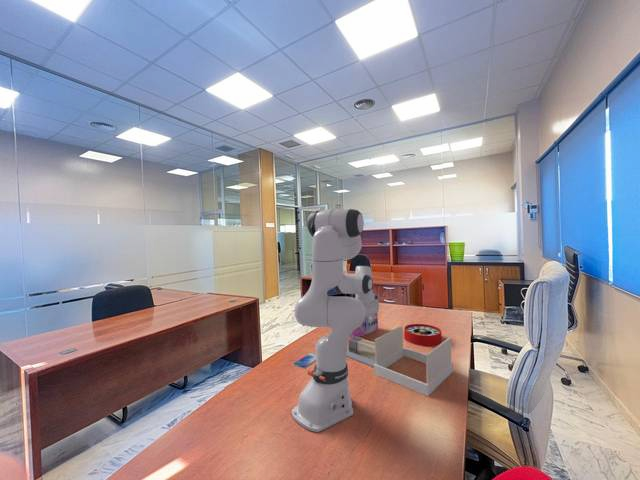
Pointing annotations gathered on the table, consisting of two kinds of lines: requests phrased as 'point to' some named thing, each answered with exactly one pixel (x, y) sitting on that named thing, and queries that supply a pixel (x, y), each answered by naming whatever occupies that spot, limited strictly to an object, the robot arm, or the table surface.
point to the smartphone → (306, 361)
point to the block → (362, 347)
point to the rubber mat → (360, 358)
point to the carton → (436, 360)
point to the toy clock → (423, 334)
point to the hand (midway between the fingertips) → (365, 324)
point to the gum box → (366, 327)
